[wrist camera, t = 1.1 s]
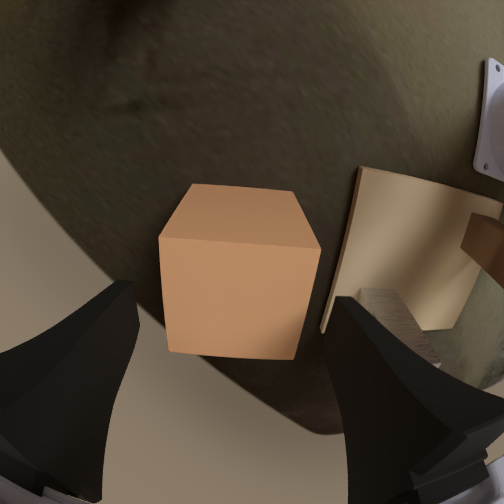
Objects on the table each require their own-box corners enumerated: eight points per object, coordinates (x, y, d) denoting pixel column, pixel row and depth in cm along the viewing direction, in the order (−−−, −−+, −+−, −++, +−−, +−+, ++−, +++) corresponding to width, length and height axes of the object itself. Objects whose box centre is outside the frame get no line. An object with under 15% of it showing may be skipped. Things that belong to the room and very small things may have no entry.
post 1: (395, 288, 18) (441, 362, 12) (382, 319, 19) (419, 394, 13) (360, 287, 18) (401, 368, 12) (349, 319, 19) (380, 400, 13)
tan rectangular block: (292, 191, 15) (321, 249, 9) (279, 276, 18) (293, 359, 12) (192, 183, 15) (158, 237, 9) (191, 269, 17) (168, 351, 12)
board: (498, 200, 15) (503, 203, 15) (448, 323, 20) (452, 328, 20) (359, 165, 15) (363, 168, 14) (319, 327, 20) (321, 333, 19)
